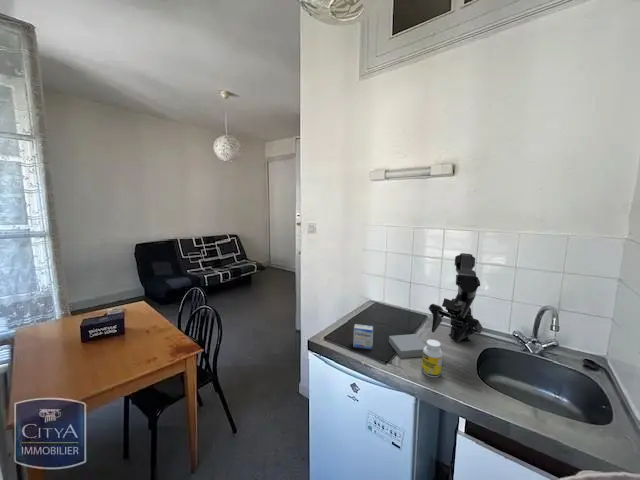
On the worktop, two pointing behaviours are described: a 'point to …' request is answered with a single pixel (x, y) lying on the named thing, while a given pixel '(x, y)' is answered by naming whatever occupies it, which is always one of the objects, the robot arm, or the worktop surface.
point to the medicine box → (363, 336)
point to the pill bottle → (432, 358)
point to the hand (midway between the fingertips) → (443, 337)
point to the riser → (407, 345)
